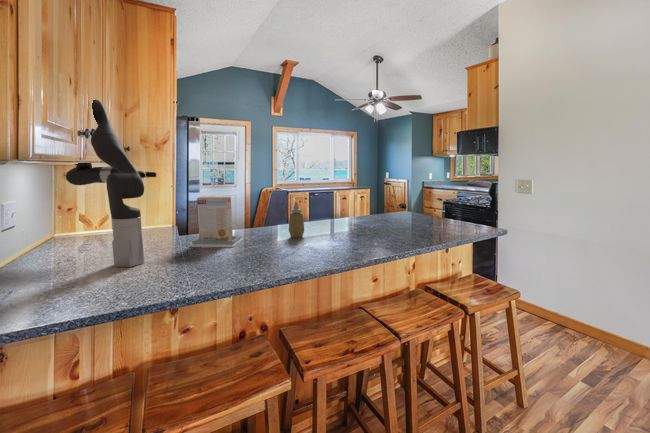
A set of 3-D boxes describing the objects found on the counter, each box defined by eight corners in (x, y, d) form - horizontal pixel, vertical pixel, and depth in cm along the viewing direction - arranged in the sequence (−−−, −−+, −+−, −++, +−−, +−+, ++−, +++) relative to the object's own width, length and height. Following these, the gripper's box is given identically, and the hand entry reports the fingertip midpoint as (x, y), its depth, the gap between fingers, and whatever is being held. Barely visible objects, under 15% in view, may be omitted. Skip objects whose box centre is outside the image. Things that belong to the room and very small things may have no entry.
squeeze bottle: (303, 238, 167) (303, 202, 164) (287, 238, 167) (287, 202, 165) (305, 235, 175) (304, 201, 172) (289, 235, 175) (289, 201, 173)
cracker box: (233, 240, 159) (231, 196, 156) (228, 243, 153) (226, 197, 150) (204, 239, 161) (202, 196, 158) (199, 242, 155) (196, 197, 152)
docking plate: (233, 247, 150) (233, 241, 149) (189, 246, 151) (189, 241, 150) (242, 240, 164) (242, 235, 163) (202, 240, 165) (202, 235, 164)
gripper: (102, 166, 141) (140, 166, 140) (124, 166, 155) (158, 166, 155) (104, 184, 142) (141, 184, 142) (126, 182, 157) (160, 182, 156)
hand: (150, 174), depth 148 cm, fingers open, 8 cm apart
